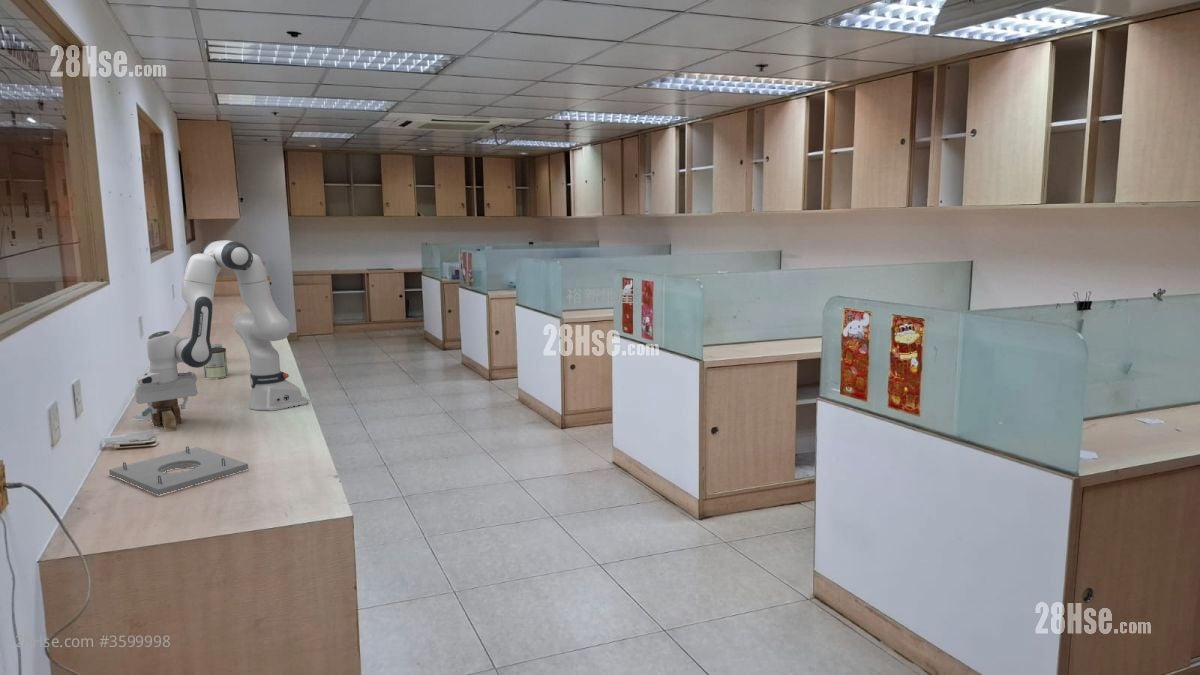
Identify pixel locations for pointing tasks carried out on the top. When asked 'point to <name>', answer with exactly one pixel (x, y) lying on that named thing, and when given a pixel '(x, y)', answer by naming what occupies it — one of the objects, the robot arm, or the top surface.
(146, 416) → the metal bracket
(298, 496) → the top surface
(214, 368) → the coffee can
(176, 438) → the top surface
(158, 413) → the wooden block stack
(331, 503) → the top surface
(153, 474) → the mounting panel
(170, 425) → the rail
